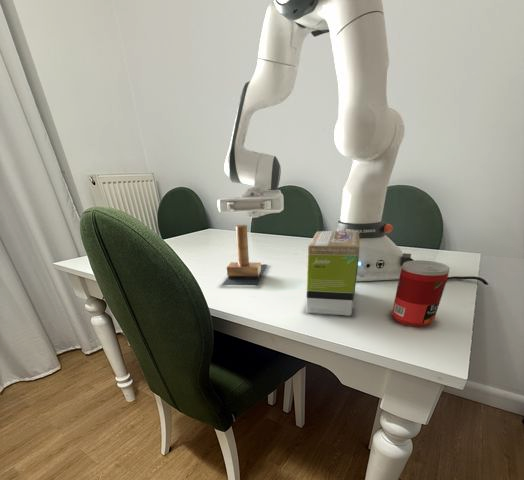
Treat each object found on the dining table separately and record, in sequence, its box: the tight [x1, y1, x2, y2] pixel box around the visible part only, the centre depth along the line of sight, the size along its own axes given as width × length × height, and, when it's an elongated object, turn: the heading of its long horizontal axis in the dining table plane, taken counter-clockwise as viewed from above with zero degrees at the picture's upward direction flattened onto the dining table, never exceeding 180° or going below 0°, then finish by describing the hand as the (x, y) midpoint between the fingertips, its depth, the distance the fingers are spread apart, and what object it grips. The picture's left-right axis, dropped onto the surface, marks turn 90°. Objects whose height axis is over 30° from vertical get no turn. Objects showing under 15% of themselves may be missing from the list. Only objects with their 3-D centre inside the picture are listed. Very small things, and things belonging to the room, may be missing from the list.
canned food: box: [391, 259, 451, 328], centre depth 57 cm, size 8×8×11 cm
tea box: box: [305, 230, 360, 316], centre depth 65 cm, size 15×10×15 cm
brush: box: [226, 224, 262, 279], centre depth 82 cm, size 9×5×14 cm, turn 81°
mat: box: [221, 264, 268, 286], centre depth 88 cm, size 10×20×1 cm, turn 172°
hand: (246, 206), depth 83 cm, fingers open, 8 cm apart
